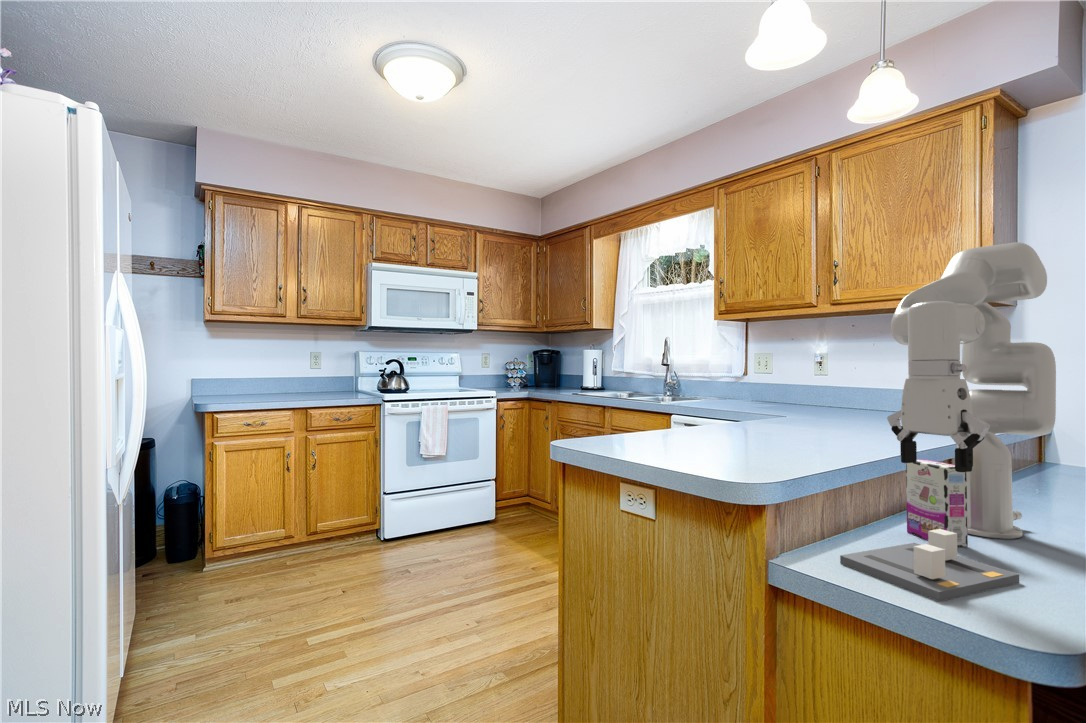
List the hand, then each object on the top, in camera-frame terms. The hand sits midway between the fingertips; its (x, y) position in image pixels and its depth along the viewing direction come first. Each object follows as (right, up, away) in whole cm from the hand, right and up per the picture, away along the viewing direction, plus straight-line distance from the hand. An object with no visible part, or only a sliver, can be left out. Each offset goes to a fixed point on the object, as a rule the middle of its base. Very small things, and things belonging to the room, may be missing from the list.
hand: (934, 466), depth 96 cm
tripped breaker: (+4, -17, +3) cm, 18 cm away
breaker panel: (-1, -19, +1) cm, 19 cm away
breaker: (-5, -17, -6) cm, 19 cm away
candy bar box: (+14, -20, +19) cm, 31 cm away
